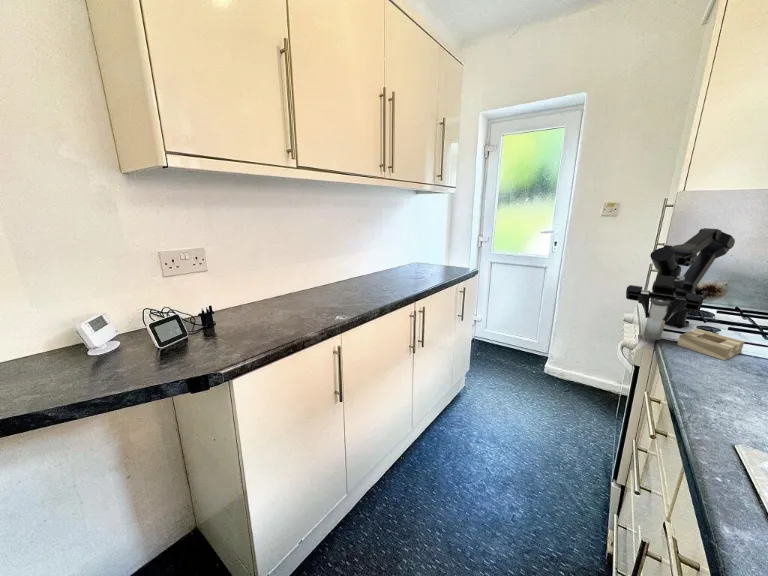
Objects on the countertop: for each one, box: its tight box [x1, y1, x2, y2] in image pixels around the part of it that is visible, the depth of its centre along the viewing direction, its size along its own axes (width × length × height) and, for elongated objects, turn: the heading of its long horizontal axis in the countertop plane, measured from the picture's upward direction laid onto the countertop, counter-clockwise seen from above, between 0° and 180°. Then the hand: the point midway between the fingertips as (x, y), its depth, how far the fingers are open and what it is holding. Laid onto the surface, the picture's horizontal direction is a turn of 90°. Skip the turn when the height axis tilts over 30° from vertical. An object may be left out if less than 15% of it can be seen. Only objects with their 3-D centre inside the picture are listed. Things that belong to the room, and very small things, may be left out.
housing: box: [676, 328, 745, 361], centre depth 97 cm, size 11×11×4 cm
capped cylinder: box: [643, 297, 671, 341], centre depth 101 cm, size 5×5×13 cm
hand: (656, 319), depth 100 cm, fingers closed on capped cylinder, 4 cm apart
